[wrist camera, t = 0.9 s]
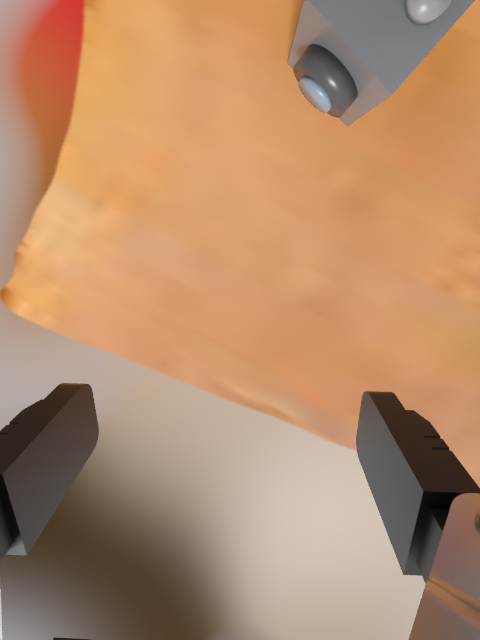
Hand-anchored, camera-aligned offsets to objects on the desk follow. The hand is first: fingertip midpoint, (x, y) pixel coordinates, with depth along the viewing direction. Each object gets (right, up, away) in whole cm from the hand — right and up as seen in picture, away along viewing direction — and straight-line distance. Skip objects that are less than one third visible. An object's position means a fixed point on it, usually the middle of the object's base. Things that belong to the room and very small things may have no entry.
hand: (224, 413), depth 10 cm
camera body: (+9, +25, +17) cm, 32 cm away
